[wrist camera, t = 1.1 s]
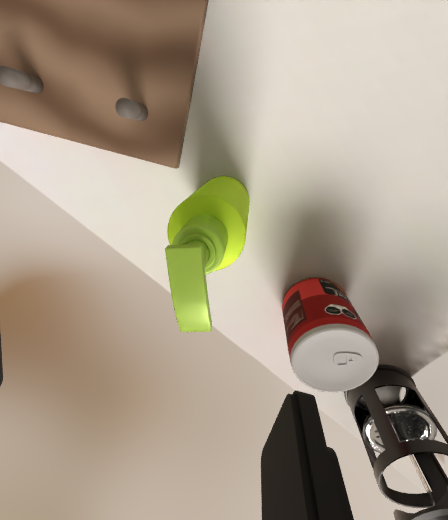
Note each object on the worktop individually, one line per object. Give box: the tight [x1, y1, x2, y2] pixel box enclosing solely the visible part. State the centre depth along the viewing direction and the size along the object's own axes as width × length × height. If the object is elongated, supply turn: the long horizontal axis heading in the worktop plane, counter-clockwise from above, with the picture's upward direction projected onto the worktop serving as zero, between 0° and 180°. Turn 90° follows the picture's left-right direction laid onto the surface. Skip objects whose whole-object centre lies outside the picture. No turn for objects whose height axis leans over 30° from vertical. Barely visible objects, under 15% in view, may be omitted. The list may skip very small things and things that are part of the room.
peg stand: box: [0, 0, 208, 168], centre depth 27 cm, size 20×20×6 cm
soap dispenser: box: [165, 176, 249, 332], centre depth 25 cm, size 6×7×20 cm
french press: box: [345, 365, 448, 520], centre depth 31 cm, size 12×9×23 cm
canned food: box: [282, 278, 379, 392], centre depth 32 cm, size 8×8×11 cm
